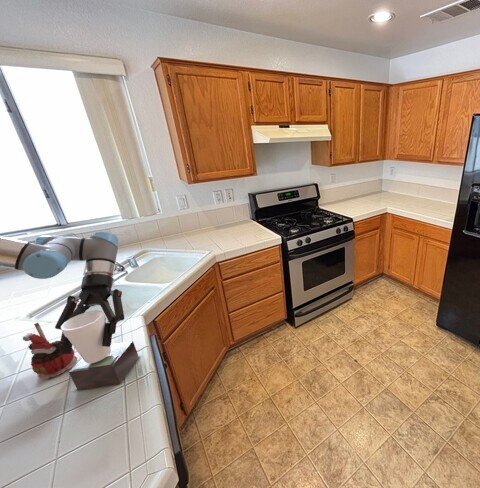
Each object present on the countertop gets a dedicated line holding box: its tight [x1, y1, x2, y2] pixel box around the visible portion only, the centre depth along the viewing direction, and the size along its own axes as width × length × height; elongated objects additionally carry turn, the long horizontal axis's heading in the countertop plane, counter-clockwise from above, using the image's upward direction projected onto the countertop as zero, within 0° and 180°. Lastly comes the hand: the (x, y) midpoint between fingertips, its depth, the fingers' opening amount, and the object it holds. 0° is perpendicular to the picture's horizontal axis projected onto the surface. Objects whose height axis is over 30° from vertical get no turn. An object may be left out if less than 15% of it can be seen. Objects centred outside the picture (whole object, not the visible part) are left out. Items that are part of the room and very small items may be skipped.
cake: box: [22, 322, 78, 380], centre depth 84 cm, size 11×9×18 cm
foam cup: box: [61, 310, 111, 363], centre depth 78 cm, size 10×9×13 cm
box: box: [68, 340, 140, 391], centre depth 83 cm, size 12×11×7 cm
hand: (86, 349), depth 76 cm, fingers closed on foam cup, 9 cm apart
